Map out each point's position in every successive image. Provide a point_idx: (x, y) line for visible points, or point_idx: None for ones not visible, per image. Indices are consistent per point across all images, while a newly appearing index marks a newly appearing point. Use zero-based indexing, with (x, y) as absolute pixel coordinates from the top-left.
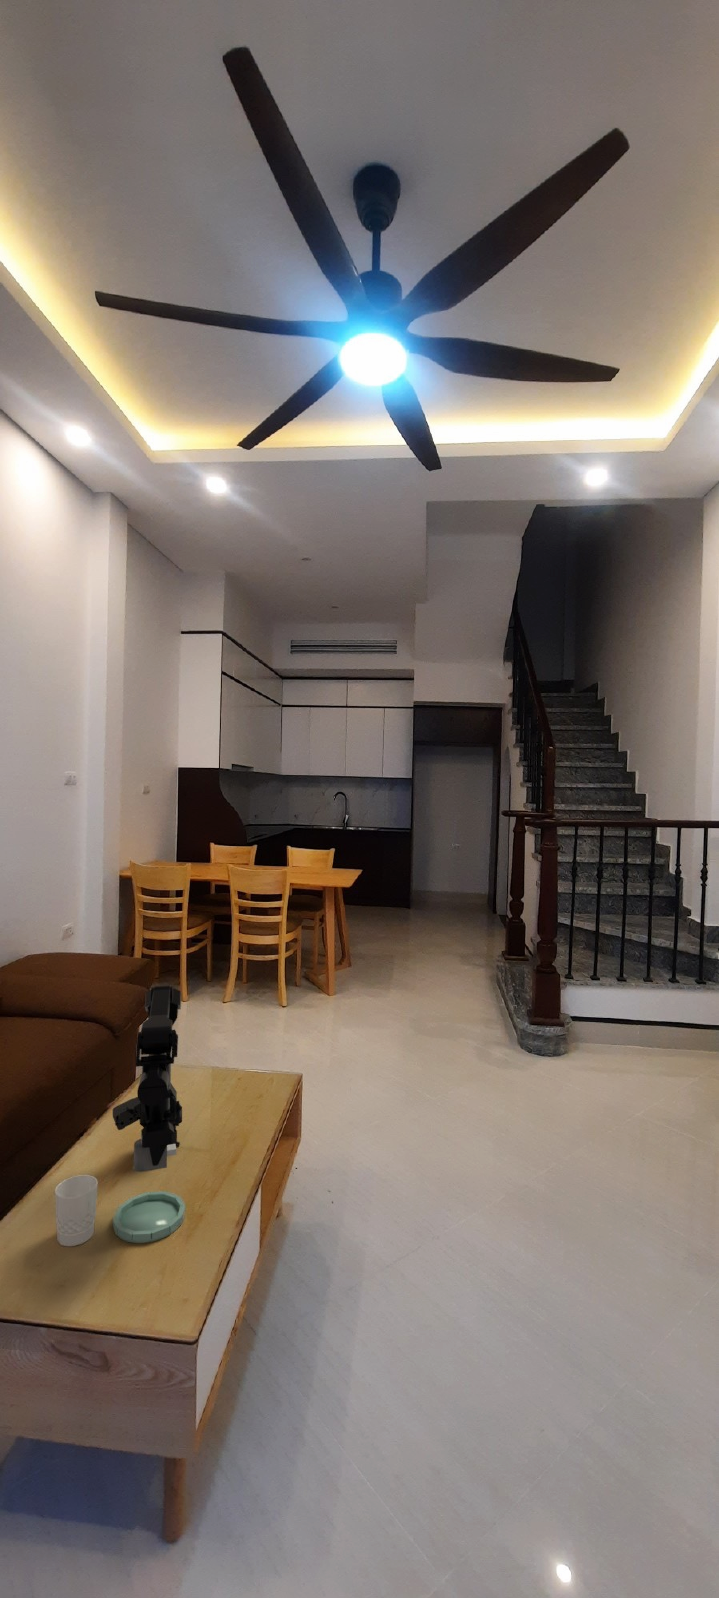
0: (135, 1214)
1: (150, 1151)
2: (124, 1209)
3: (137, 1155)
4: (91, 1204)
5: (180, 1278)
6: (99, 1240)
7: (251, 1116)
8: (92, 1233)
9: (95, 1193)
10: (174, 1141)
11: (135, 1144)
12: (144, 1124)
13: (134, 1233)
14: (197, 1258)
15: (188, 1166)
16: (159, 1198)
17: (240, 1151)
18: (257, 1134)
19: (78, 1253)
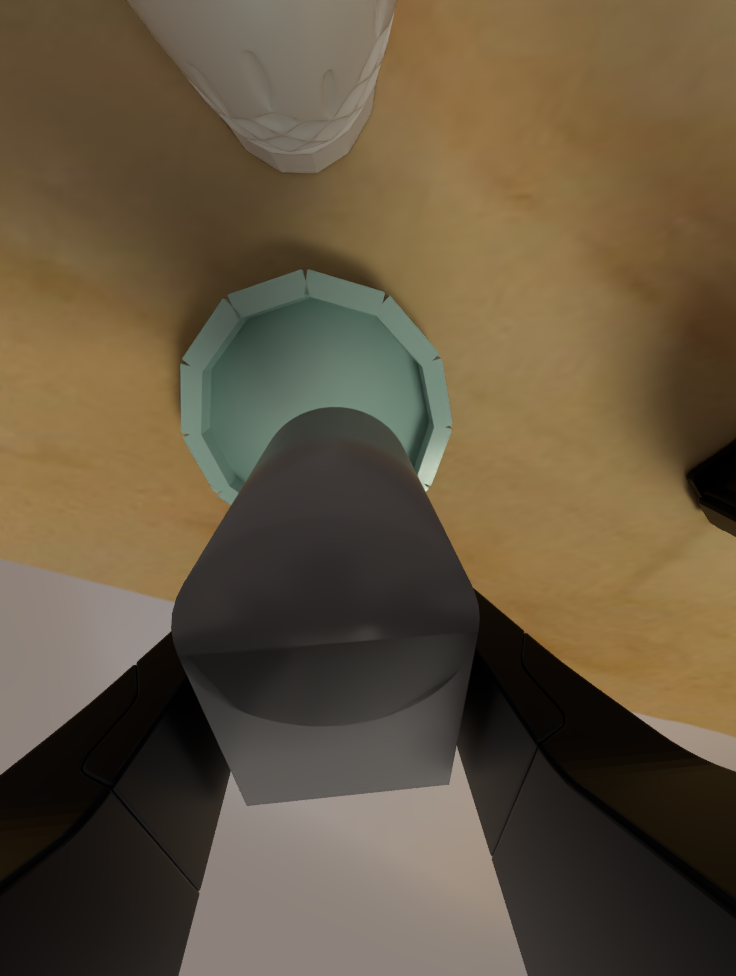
0: (354, 372)
1: (107, 690)
2: (385, 326)
3: (236, 499)
4: (143, 18)
5: (25, 500)
6: (235, 210)
7: (707, 685)
8: (270, 163)
9: (165, 10)
10: (730, 528)
11: (302, 540)
12: (712, 964)
13: (187, 370)
14: (116, 543)
15: (574, 543)
16: (417, 461)
17: (562, 655)
18: (613, 688)
19: (148, 88)
